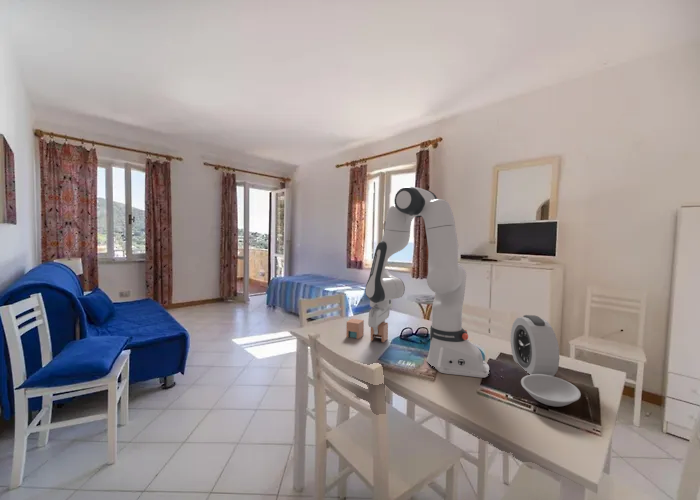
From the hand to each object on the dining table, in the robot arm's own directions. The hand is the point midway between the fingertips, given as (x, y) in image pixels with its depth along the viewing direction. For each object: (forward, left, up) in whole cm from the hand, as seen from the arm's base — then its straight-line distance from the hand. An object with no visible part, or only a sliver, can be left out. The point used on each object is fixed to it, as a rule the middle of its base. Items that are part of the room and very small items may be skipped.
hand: (379, 331), depth 137 cm
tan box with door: (+12, 0, -4) cm, 13 cm away
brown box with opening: (0, 0, -4) cm, 4 cm away
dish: (-63, +28, -4) cm, 69 cm away
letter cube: (+12, 0, -4) cm, 13 cm away
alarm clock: (-62, +3, -4) cm, 62 cm away
